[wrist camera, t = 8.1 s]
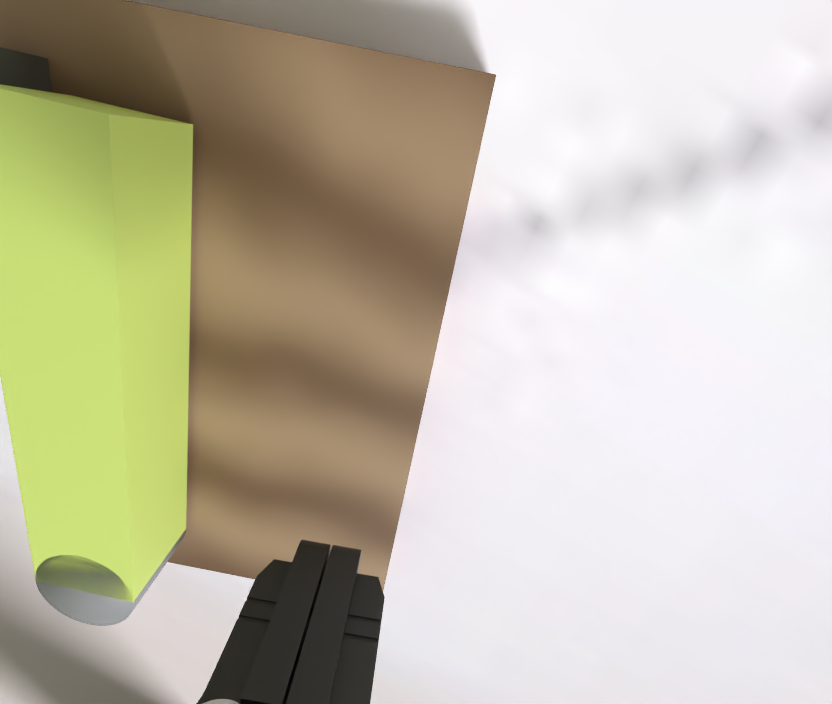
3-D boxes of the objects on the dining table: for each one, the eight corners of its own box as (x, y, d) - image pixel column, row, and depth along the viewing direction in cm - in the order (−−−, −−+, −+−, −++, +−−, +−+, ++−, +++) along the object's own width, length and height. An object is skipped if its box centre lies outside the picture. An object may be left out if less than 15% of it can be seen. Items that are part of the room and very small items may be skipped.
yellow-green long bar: (185, 557, 23) (134, 634, 19) (107, 540, 23) (41, 613, 19) (193, 124, 15) (108, 114, 11) (72, 95, 15) (-52, 76, 11)
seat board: (385, 571, 26) (370, 662, 21) (103, 515, 25) (26, 594, 21) (491, 84, 16) (506, 54, 11) (38, -7, 16) (-131, -73, 11)
